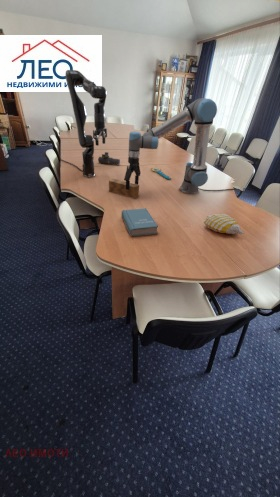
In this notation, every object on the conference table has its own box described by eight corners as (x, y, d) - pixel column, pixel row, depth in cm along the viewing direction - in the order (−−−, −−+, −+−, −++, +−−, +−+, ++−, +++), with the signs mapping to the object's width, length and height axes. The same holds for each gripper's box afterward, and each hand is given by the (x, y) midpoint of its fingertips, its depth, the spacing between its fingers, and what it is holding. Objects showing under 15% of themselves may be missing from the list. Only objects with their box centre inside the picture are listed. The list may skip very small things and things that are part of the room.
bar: (109, 191, 174) (108, 180, 169) (113, 189, 178) (113, 178, 173) (135, 198, 166) (135, 187, 161) (138, 195, 170) (139, 185, 165)
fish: (254, 225, 128) (232, 232, 118) (249, 236, 132) (228, 244, 123) (221, 208, 144) (199, 213, 134) (217, 218, 149) (196, 224, 139)
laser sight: (117, 166, 227) (117, 156, 221) (96, 163, 230) (96, 153, 224) (120, 163, 234) (120, 154, 229) (100, 161, 237) (99, 151, 231)
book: (157, 233, 128) (158, 226, 125) (130, 236, 123) (130, 229, 120) (145, 215, 145) (146, 208, 142) (121, 217, 141) (121, 210, 138)
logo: (149, 168, 227) (150, 167, 227) (158, 168, 230) (158, 167, 229) (161, 179, 202) (161, 179, 201) (171, 179, 204) (171, 178, 204)
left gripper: (101, 118, 165) (102, 142, 175) (89, 120, 155) (90, 145, 165) (109, 120, 163) (109, 143, 173) (97, 121, 153) (99, 146, 162)
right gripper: (129, 161, 142) (128, 193, 154) (146, 154, 160) (144, 183, 173) (119, 159, 144) (118, 190, 157) (137, 152, 163) (135, 181, 175)
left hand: (100, 144), depth 169 cm, fingers open, 8 cm apart
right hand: (132, 186), depth 165 cm, fingers open, 13 cm apart
